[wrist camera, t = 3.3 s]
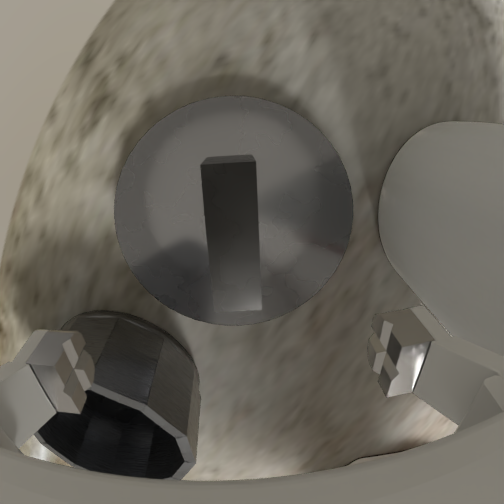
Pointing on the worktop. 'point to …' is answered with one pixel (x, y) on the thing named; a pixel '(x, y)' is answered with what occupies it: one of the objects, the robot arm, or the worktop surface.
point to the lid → (233, 210)
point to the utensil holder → (450, 226)
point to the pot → (130, 402)
